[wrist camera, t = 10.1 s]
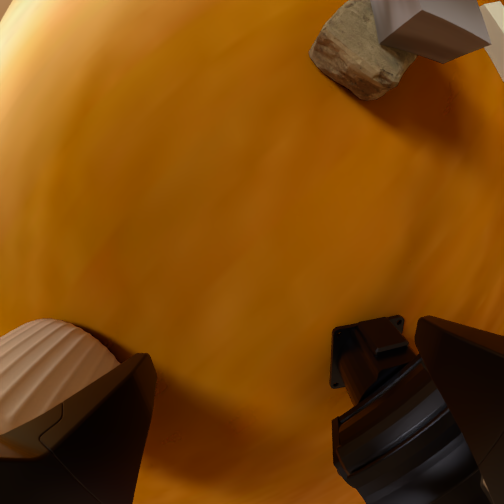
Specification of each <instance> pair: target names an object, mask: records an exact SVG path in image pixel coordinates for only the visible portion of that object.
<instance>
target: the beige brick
mask: <svg viewBox="0 0 504 504" xmlns="http://www.w3.org/2000/svg"><path fill="white" fill-rule="evenodd" d="M479 8H480V11H481V13H482V16H483V19H484V22H485V25H486V28H487V31H488V34H489V37H490V41H491V44H492V45H489V46H486V47H484V48H485V49H486V51H487V53H488V54H489V56H490V58H491V60H492V61H493V63H494V65H495V67H496V69H497V71H498V72H499V74H500V76H501V78H502V80H503V82H504V6H503V5H502V3H501V2H500V1H498V2H493V3H488V4H484V5H482V6H480V7H479Z"/></svg>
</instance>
